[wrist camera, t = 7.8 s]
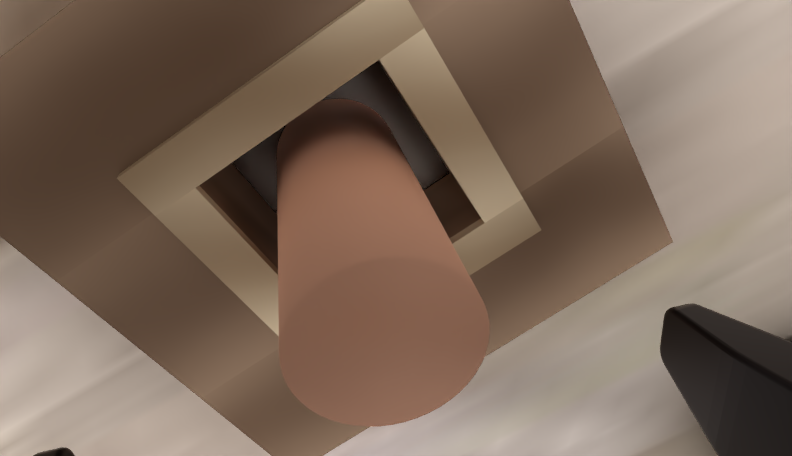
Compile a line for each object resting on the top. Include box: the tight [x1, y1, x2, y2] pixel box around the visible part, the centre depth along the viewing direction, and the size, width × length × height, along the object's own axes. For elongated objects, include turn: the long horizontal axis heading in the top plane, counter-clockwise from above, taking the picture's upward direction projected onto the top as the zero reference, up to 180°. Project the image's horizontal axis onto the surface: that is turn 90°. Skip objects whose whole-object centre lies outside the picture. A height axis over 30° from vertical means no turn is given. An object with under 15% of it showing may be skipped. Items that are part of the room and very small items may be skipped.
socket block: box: [0, 0, 673, 456], centre depth 16 cm, size 14×14×4 cm
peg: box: [277, 99, 490, 427], centre depth 14 cm, size 4×4×9 cm
